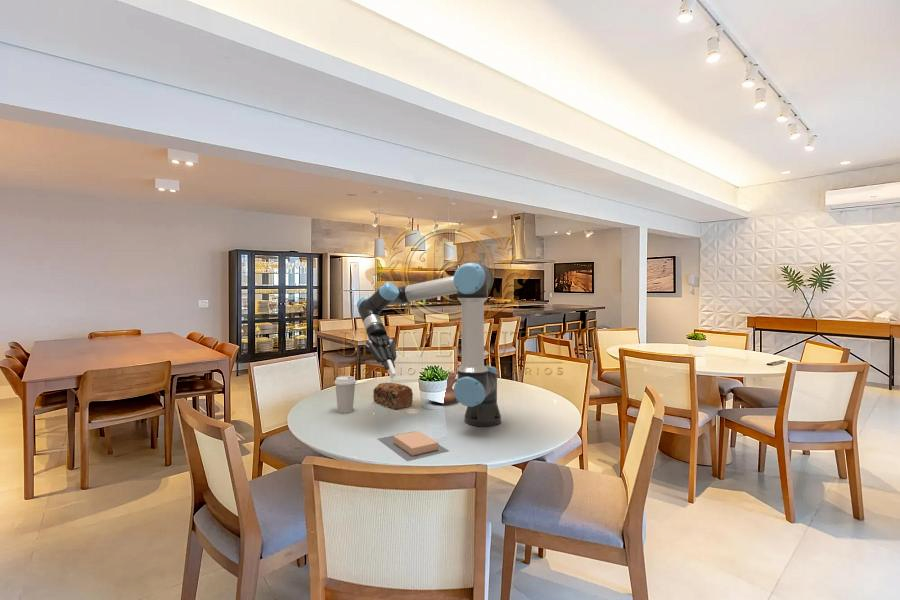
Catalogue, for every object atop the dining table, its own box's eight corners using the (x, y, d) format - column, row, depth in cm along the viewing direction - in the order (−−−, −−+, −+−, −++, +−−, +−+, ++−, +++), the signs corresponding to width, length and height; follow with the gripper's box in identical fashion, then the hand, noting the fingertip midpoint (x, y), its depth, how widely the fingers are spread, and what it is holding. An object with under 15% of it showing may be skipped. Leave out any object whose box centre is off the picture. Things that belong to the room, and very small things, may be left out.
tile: (393, 435, 152) (412, 448, 140) (418, 430, 157) (438, 442, 145) (393, 443, 152) (412, 456, 140) (418, 438, 157) (438, 450, 145)
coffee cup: (350, 414, 187) (350, 380, 187) (330, 413, 189) (330, 379, 189) (359, 408, 196) (359, 376, 196) (340, 407, 198) (340, 375, 198)
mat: (376, 439, 156) (376, 438, 156) (415, 432, 165) (415, 431, 165) (407, 462, 136) (407, 461, 136) (449, 452, 145) (449, 451, 145)
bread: (413, 406, 201) (413, 385, 201) (394, 410, 194) (394, 388, 194) (390, 398, 215) (390, 379, 215) (372, 402, 208) (372, 382, 208)
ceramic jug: (427, 406, 200) (428, 376, 200) (424, 399, 215) (424, 370, 214) (465, 405, 203) (465, 375, 203) (459, 397, 218) (459, 369, 217)
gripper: (386, 333, 182) (405, 379, 168) (357, 335, 175) (374, 383, 161) (392, 321, 177) (411, 367, 164) (362, 323, 170) (380, 371, 157)
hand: (393, 375), depth 163 cm, fingers closed
